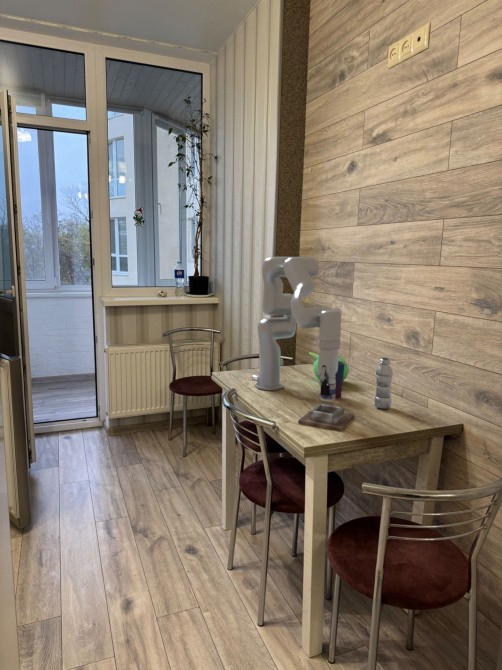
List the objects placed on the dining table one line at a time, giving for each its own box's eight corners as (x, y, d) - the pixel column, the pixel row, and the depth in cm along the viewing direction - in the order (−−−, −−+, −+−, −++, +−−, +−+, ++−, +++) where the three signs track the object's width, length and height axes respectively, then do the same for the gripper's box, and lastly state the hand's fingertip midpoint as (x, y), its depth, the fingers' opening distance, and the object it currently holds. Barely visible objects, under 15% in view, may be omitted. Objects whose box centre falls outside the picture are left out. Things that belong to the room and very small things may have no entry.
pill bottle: (318, 397, 174) (319, 371, 173) (333, 397, 175) (333, 371, 173) (322, 401, 169) (322, 375, 167) (336, 401, 170) (337, 375, 168)
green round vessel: (354, 387, 216) (355, 356, 213) (319, 389, 212) (320, 357, 209) (337, 377, 233) (338, 348, 230) (305, 379, 229) (306, 349, 226)
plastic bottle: (382, 411, 183) (385, 361, 180) (370, 406, 189) (372, 357, 186) (394, 409, 186) (397, 359, 183) (382, 404, 192) (385, 356, 189)
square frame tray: (298, 423, 170) (298, 412, 169) (313, 410, 184) (313, 400, 183) (341, 431, 163) (341, 419, 162) (354, 417, 177) (354, 406, 176)
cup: (343, 399, 198) (344, 364, 195) (326, 398, 199) (327, 364, 196) (343, 395, 204) (344, 361, 202) (327, 394, 206) (328, 360, 203)
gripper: (327, 339, 178) (325, 386, 181) (311, 347, 163) (309, 398, 166) (346, 341, 174) (344, 388, 177) (332, 349, 159) (330, 401, 162)
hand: (327, 392), depth 172 cm, fingers closed on pill bottle, 5 cm apart
